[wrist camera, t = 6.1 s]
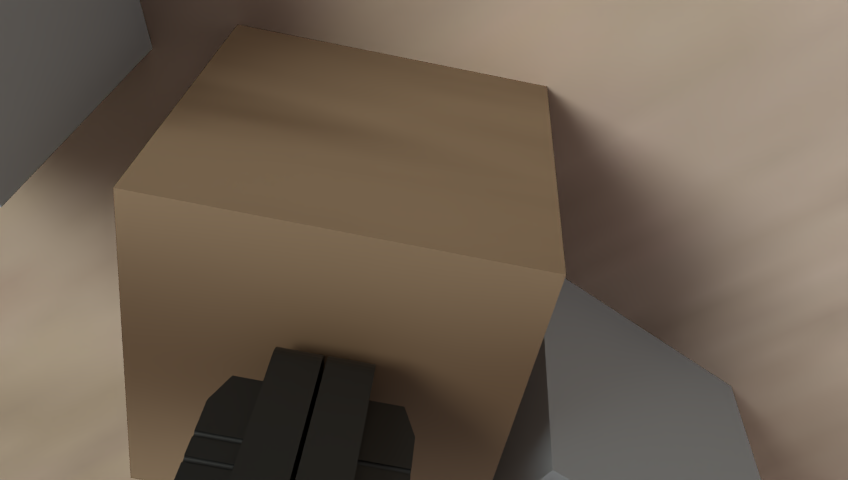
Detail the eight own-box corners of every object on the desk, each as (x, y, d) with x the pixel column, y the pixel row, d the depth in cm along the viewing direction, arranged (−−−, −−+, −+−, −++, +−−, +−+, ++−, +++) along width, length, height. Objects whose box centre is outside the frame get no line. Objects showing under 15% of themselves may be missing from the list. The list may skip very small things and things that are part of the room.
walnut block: (479, 315, 19) (471, 538, 14) (228, 268, 19) (130, 477, 14) (546, 84, 15) (566, 274, 11) (238, 23, 15) (113, 188, 10)
